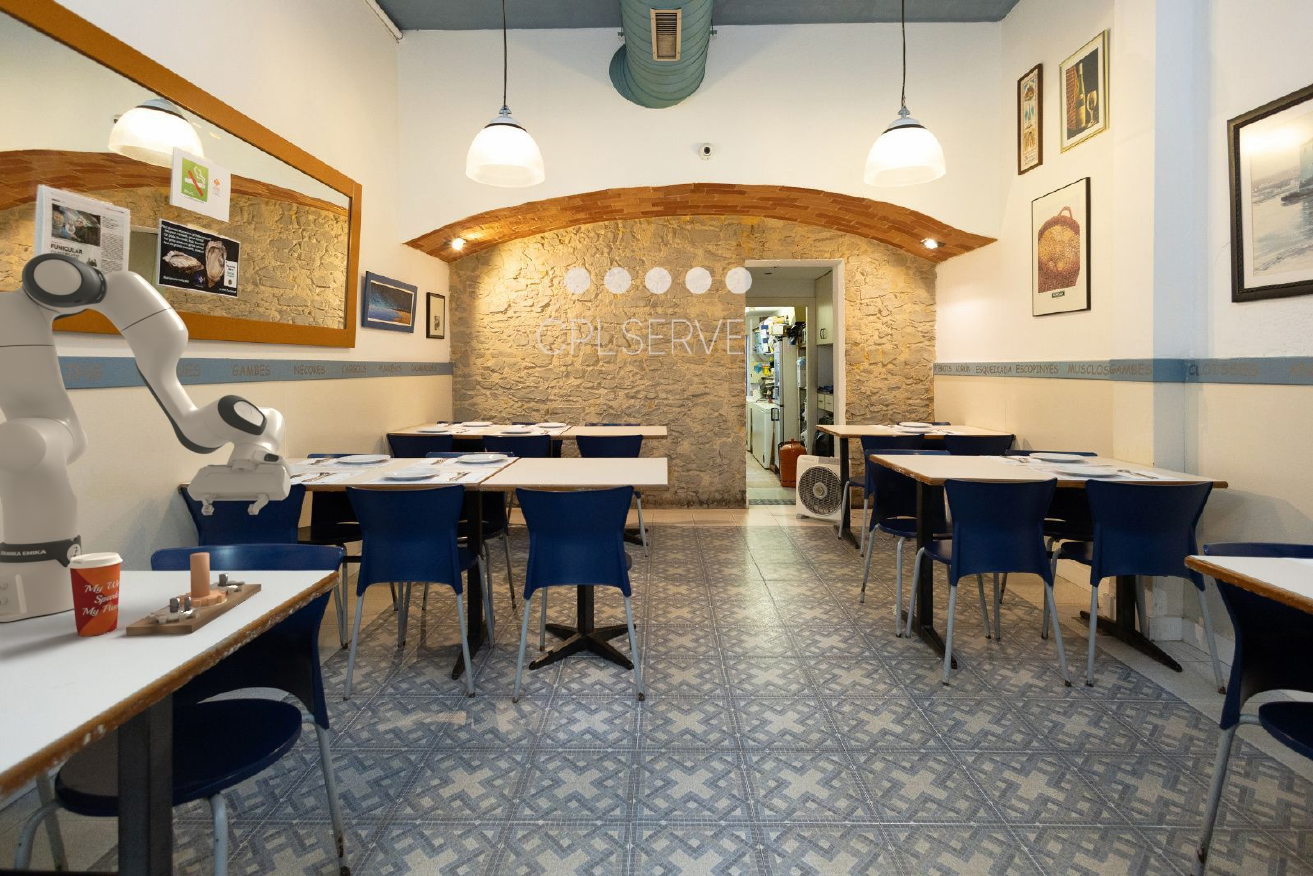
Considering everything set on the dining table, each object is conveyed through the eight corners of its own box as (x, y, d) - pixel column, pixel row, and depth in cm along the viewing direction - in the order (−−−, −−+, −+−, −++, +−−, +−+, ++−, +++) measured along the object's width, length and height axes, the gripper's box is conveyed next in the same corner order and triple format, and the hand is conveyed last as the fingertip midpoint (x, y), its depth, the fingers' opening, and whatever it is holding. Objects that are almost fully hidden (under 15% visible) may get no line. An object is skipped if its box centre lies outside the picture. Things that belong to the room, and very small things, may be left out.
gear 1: (138, 624, 119) (138, 604, 119) (164, 611, 127) (164, 592, 127) (185, 623, 120) (185, 603, 120) (208, 610, 128) (208, 591, 128)
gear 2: (193, 596, 137) (193, 579, 137) (213, 586, 145) (213, 570, 145) (234, 595, 138) (234, 578, 138) (252, 585, 146) (251, 569, 146)
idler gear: (165, 609, 128) (164, 559, 127) (189, 597, 136) (188, 550, 136) (212, 608, 129) (211, 558, 128) (233, 596, 137) (232, 549, 137)
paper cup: (92, 640, 115) (90, 562, 115) (57, 636, 117) (55, 559, 116) (135, 625, 123) (133, 552, 122) (102, 622, 125) (101, 550, 124)
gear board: (125, 635, 118) (125, 626, 118) (208, 591, 146) (208, 584, 146) (192, 633, 120) (191, 624, 120) (261, 590, 147) (261, 583, 147)
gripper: (196, 456, 149) (171, 505, 140) (291, 456, 152) (273, 504, 143) (207, 473, 154) (183, 522, 144) (299, 473, 157) (282, 521, 147)
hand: (229, 513), depth 144 cm, fingers open, 8 cm apart
